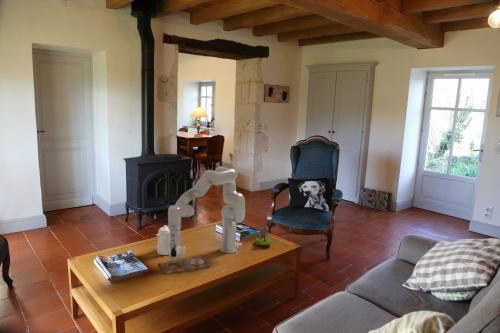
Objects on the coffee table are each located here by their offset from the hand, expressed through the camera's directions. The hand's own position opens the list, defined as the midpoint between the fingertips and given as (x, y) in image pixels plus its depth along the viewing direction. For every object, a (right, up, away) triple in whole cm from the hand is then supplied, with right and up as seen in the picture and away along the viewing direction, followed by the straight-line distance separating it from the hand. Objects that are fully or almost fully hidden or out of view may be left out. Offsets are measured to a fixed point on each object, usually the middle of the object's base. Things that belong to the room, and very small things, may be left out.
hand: (174, 253), depth 220 cm
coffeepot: (-11, -5, +21) cm, 25 cm away
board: (+5, -8, +4) cm, 11 cm away
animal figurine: (+56, -4, +42) cm, 70 cm away
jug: (+1, -2, 0) cm, 3 cm away
